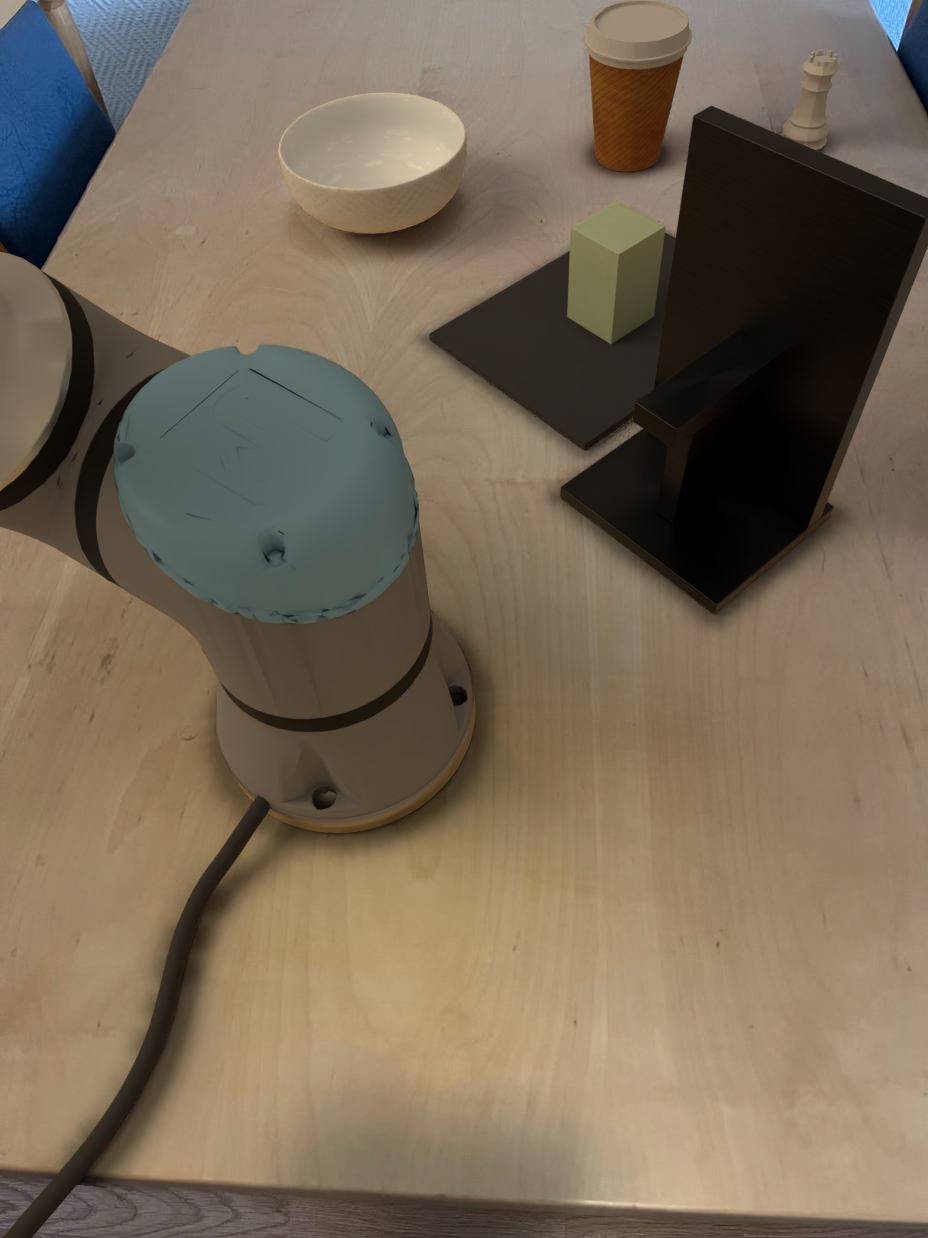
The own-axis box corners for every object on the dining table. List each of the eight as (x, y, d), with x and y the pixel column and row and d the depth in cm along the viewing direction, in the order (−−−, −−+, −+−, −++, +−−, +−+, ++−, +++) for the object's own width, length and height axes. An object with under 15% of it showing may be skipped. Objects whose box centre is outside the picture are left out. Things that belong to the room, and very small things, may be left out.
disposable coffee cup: (672, 183, 86) (691, 45, 76) (572, 178, 87) (578, 42, 78) (679, 132, 91) (697, -3, 81) (585, 128, 93) (591, -5, 83)
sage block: (611, 344, 72) (619, 254, 66) (566, 316, 74) (570, 226, 68) (654, 316, 74) (666, 225, 67) (609, 290, 76) (617, 199, 70)
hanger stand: (713, 614, 57) (803, 304, 39) (559, 496, 64) (571, 182, 45) (830, 516, 61) (963, 191, 43) (674, 414, 68) (729, 94, 49)
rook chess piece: (827, 156, 87) (851, 67, 80) (779, 155, 88) (799, 66, 81) (824, 132, 90) (847, 44, 83) (777, 131, 90) (796, 43, 84)
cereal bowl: (353, 286, 80) (339, 210, 74) (262, 207, 88) (244, 134, 82) (506, 213, 85) (504, 137, 79) (407, 145, 93) (398, 72, 87)
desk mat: (584, 450, 66) (584, 444, 66) (429, 339, 75) (428, 333, 74) (791, 305, 74) (793, 299, 74) (630, 220, 83) (631, 213, 82)
